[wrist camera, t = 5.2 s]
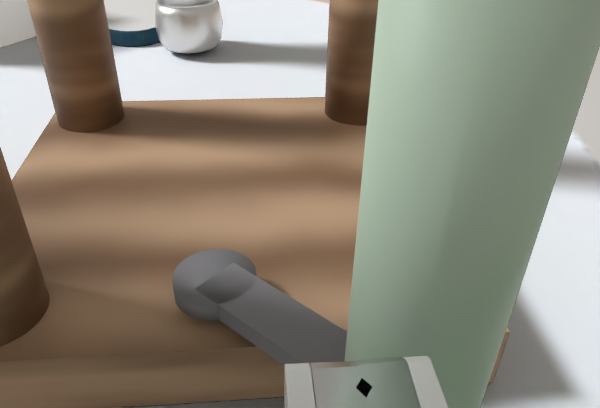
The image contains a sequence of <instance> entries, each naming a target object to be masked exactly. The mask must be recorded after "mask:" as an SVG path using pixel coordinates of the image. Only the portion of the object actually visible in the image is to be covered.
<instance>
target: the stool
mask: <svg viewBox="0 0 600 408" xmlns="http://www.w3.org/2000/svg"><path fill="white" fill-rule="evenodd" d="M378 1H379V0H330V6H329V28H328V50H327V72H326V93H325V97H308V98H261V99H214V100H167V101H122V99H121V94H120V88H119V83H118V77H117V71H116V66H115V60H114V55H113V49H112V44H111V38H110V32H109V27H108V21H107V16H106V10H105V5H104V0H27V3H28V7H29V11H30V15H31V18H32V22H33V26H34V30H35V34H36V38H37V42H38V46H39V50H40V54H41V57H42V61H43V65H44V69H45V73H46V77H47V81H48V85H49V89H50V93H51V96H52V100H53V104H54V108H55V114H54V115H53V117H52V119H51V120H50V122H49V123H48V125H47V126H46V128H45V129H44V131H43V133H42V134H41V136H40V137H39V139H38V140H37V142H36V143H35V145H34V147H33V148H32V150H31V151H30V153H29V154H28V156H27V157H26V159H25V161H24V162H23V164H22V165H21V167H20V168H19V170H18V171H17V173H16V174H15V176H14V178H13V179H12V181H11V178H10V175H9V172H8V169H7V166H6V163H5V160H4V157H3V154H2V151H1V148H0V408H122V407H137V406H152V405H167V404H182V403H197V402H212V401H227V400H242V399H257V398H272V397H284V365H283V364H281V363H280V362H278V361H277V360H275V359H274V358H273V357H271V356H270V355H268V354H267V353H265V352H264V351H263V350H261V349H260V348H258V347H257V346H255V345H254V344H253V343H251V342H250V341H248V340H247V339H245V338H244V337H243V336H241V335H240V334H238V333H237V332H235V331H234V330H233V329H231V328H230V327H228V326H227V325H225V324H224V323H222V322H221V321H220V320H217V321H205V320H199V319H196V318H193V317H190V316H188V315H187V314H185V313H184V312H182V311H181V310H180V309H179V307H178V306H177V304H176V302H175V297H174V291H173V284H172V276H173V273H174V270H175V269H176V267H177V266H178V265H179V264H180V263H181V262H182V261H183V260H184V259H186V258H187V257H189V256H191V255H193V254H195V253H198V252H200V251H204V250H209V249H228V250H233V251H236V252H239V253H241V254H243V255H245V256H246V257H248V258H249V259H250V260H251V261H252V262H253V264H254V266H255V268H256V274H257V277H258V278H260V279H262V280H263V281H265V282H267V283H268V284H270V285H271V286H273V287H275V288H276V289H278V290H280V291H281V292H283V293H285V294H286V295H288V296H290V297H291V298H293V299H295V300H296V301H298V302H299V303H301V304H303V305H304V306H306V307H308V308H309V309H311V310H313V311H314V312H316V313H318V314H319V315H321V316H322V317H324V318H326V319H327V320H329V321H331V322H332V323H334V324H336V325H337V326H339V327H341V328H342V329H344V330H345V331H347V329H348V318H349V307H350V297H351V286H352V276H353V265H354V255H355V244H356V233H357V223H358V212H359V202H360V191H361V180H362V170H363V159H364V149H365V138H366V128H367V117H368V106H369V96H370V85H371V75H372V64H373V54H374V43H375V32H376V22H377V11H378ZM509 333H510V331H509V329H508V327H507V329H506V332H505V335H504V338H503V341H502V344H501V347H500V350H499V353H498V356H497V359H496V362H495V365H494V368H493V371H492V374H491V377H490V380H489V383H493V380H494V377H495V374H496V371H497V368H498V365H499V362H500V359H501V356H502V353H503V350H504V347H505V344H506V341H507V338H508V335H509Z"/></svg>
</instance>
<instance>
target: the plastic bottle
mask: <svg viewBox="0 0 600 408" xmlns="http://www.w3.org/2000/svg"><path fill="white" fill-rule="evenodd" d="M222 24H223V21H222V16H221V11H220V6H219V3H218V0H157V1H156V3H155V27H156V31H157V34H158V37H159V40H160V42H161V43H162V44H163V45H164V47H165V48H166V49H167V50H169V51H172V52H177V53H199V52H204V51H208V50H211V49H213V48H215V47H216V46H217V44H218V43H219V41H220V39H221V35H222Z"/></svg>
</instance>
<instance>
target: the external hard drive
mask: <svg viewBox="0 0 600 408" xmlns="http://www.w3.org/2000/svg"><path fill="white" fill-rule="evenodd" d="M156 1H157V0H104V5H105V10H106V16H107V21H108V27H109V32H110V38H111V44H112V45H117V46H124V47H139V46H146V45H151V44H154V43H158V42H160V40H159V37H158V34H157V31H156V27H155V3H156Z"/></svg>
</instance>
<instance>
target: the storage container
mask: <svg viewBox="0 0 600 408" xmlns="http://www.w3.org/2000/svg"><path fill="white" fill-rule="evenodd" d="M35 36H36V34H35V30H34V26H33V22H32V18H31V15H30V11H29V7H28V3H27V0H0V48H1V47H4V46H8V45H11V44H14V43H17V42H20V41H23V40H26V39H29V38H32V37H35Z"/></svg>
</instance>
